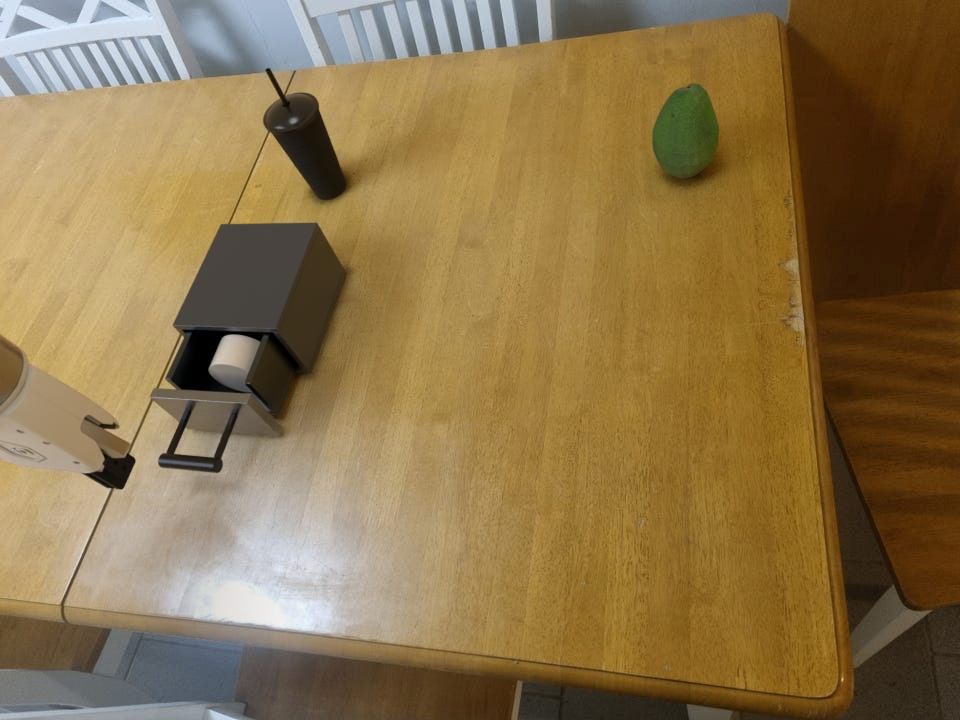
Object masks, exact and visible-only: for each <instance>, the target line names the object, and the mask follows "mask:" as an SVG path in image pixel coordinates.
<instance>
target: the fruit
mask: <svg viewBox="0 0 960 720" xmlns="http://www.w3.org/2000/svg"><path fill="white" fill-rule="evenodd" d="M651 133H652V136H651V137H652V138H651V139H652V142H651V143H652V150H653V153H654V156H655V158H656V161H657V162H658V164H659V165H660V167H661V168H662V169H663V170H664V171H665V172H666V173H667V174H669V175H670V176H673V177H675V178H678V179H688V178H692V177H693V178H694V177H695V176H696V175H699V174H700V173H701V172H702V171H703V170H705V168H706V167H708V166H709V164H711V162H712V161H713V160H714V157H715V155H716V152H717V150H718V146H719V144H720V143H719V142H720V125H719V121H718V118H717V114H716V112H715V108H714V106H713V104H712V100H711V97H710V95H709V93H708V91H707V90H706V89H705V88H704V86H702V85H701V84H700V83H693V82H690V83H689V84H686V85H683V86H681V87H679V88H677V89H675V90H673V92H672V93H671V94H669V96H668V98H667V99H666V100H665V102H664V103H663V105H662V107H661V108H660V111H659V113H658V115H657V117H656V120H655V122H654V124H653V127H652V131H651Z"/></svg>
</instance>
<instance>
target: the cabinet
mask: <svg viewBox="0 0 960 720" xmlns="http://www.w3.org/2000/svg"><path fill="white" fill-rule="evenodd" d="M346 274H347V271H346V269H345V268H344V266H343V265H342V262H341V260H340V259H339V257H338V255H336V252H335V251H334V249H333V248H332V246H331V244H330V243H329V241H328V238H327V237H326V235H325V233H324V232H323V231H322V229H321V227H320V225H319V223H318V222H266V223H265V222H263V223H261V222H260V223H220V225H219V227H218V229H217V230H216V233H215V235H214V238H213V240H212V241H211V244H210V245H209V248H208V250H207V252H206V254H205V256H204V258H203V260H202V262H201V265H200V267H199V269H198V271H197V273H196V275H195V277H194V279H193V281H192V283H191V285H190V288H189V290H188V292H187V294H186V296H185V298H184V300H183V302H182V304H181V306H180V309H179V311H178V313H177V315H176V317H175V319H174V321H173V323H172V327H173V328H174V329H175V330H176V331H177V332H178V333H179V334H180V335H181V336H182V337H183V338H184V337H185V334H186V332H187V330H217V331H247V332H273V333H274V335H275V336H276V337H277V338H278V340H279V341H280V342H281V343H282V345H283V346H284V347H285V348H286V350H287V351H288V352H289V353H290V355H291V356H292V357H293V358H294V360H295V361H296V362H297V363H298V367H297V370H296V372H295V374H309V375H311V374H312V372H313V369H314V366H315V363H316V362H317V358H318V354H319V352H320V350H321V346H322V343H323V341H324V338H325V335H326V331H327V329H328V326H329V323H330V320H331V318H332V315H333V312H334V309H335V306H336V303H337V300H338V298H339V295H340V292H341V288H342V286H343V283H344V280H345V277H346Z"/></svg>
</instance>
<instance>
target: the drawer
mask: <svg viewBox="0 0 960 720" xmlns="http://www.w3.org/2000/svg"><path fill="white" fill-rule="evenodd" d="M233 334H234V335H243V336H247V337H250V338H253V339H255V340H258V341H260V345H259V347H258V350H257V352H256V355H255V357H254V360H253V362H252V365H251V367H250V370H249V372H248V375H247V377H246V380H245V382H244V384H245V385H246V386H247V387H248V388H249V389H250V390H251V391H252V392H243V391H239V390H235V389H232V388H230V387H227V386H225V385H223V384H221V383H220V382H218V381H217V380H215V379H214V378H213V377H212V376H211V375H210V373H209V367H210V364H211V362H212V360H213V357H214V355H215V353H216V350H217V348H218V346H219V344H220V341H221V339H222V338H223V337H224V336H226V335H233ZM297 367H298V363H297V362H296V361H295V360H294V358H293V357H292V356H291V355H290V353H289V352H288V351H287V350H286V348H285V347H284V346H283V345H282V343H281V342H280V341H279V340H278V338H277V337H276V336H275V335H274V333H273V332H247V331H217V330H187V332H186V334H185V337H183V339H182V340H181V342H180V345H179V348H178V350H177V352H176V354H175V356H174V358H173V359H172V363H171V365H170V367H169V369H168V371H167V373H166V375H165V378H164V380H166V382H168V383H169V384H170V385H171V386H172V387H173V388H160V387H159V388H158V387H153V388H152V390H151V392H150V395H149V398H150V400H152V401H153V402H154V403H156V404H157V405H158V406H159V407H160V408H162V409H163V410H164V411H165V412H166V413H167V414H168V415H170V416H171V417H172V418H173V419H175V421H177V422H178V424H177V427H176V429H175V431H174V434H173V436H172V438H171V440H170V443H169V445H168V447H167V449H166V452H163V453H161V454H160V455H159V456H158V459H157V464H158V466H159V468H161V469H170V470H181V471H191V472H201V473H210V474H211V473H212V474H219V473H220V472H222V470H223V467H224V462H223V459H222V458H223V455H224V453H225V451H226V448H227V445H228V443H229V440H230V437H231V435H232V434H242V435H255V436H265V437H267V436H268V437H281V434H282V431H283V429H284V427H283V426H282V425H281V424H280V423H279V422H278V421H277V420H276V419H275V418H274V417H273V416H281V414H282V411H283V408H284V405H285V403H286V400H287V397H288V395H289V392H290V389H291V386H292V383H293V381H294V378H295V375H296V373H295V372H296V370H297ZM186 429H187V430H191V431H201V432H202V431H204V432H214V433H215V432H217V433H222V435H221V437H220V439H219V442H218V445H217V447H216V449H215V452H214V455H213V456H203V455H191V454H180V453H176V451H177V448H178V446H179V443H180V441H181V439H182V437H183V434H184V432H185V430H186Z"/></svg>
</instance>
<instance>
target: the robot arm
mask: <svg viewBox="0 0 960 720" xmlns="http://www.w3.org/2000/svg"><path fill="white" fill-rule="evenodd" d="M120 427H121V426H120V423H119V421H118V420H117V419H116V417H114V416H113V415H112V414H111V413H110V412H109V411H107V410H106V409H105V408H104V407H102V406H101V405H100V404H98V403H97V402H95V401H94V400H92V399H91V398H89V397H87V396H86V395H85V394H83V393H82V392H80V391H78V390H77V389H75V388H74V387H72V386H70V385H68V384H67V383H65V382H63V380H60V379H59V378H57V377H55V376H53V375H52V374H50V373H48V372H46V371H45V370H43V369H41V368H39V367H37V366H35V365H33V364H31V363H30V362H29V358H28V355H27V353H26V351H25V350H24V349H23V348H21V347H20V346H19V345H17V344H16V343H14V342H13V341H12V340H10V339H9V338H7V337H6V336H5V335H3V334H2V333H0V459H1V460H3V461H5V462H6V463H9V464H11V465H13V466H18V467H23V468H30V469H36V470H37V469H38V470H46V471H53V472H54V471H56V472H66V473H76V474H82V475H84V476H86V477H87V478H88V479H91V480H92V481H94V482H95V483H97V484H98V485H100V486H102V487H104V488H105V489H115V490H124V489H125V487H126V485H127V483H128V480H129V478H130V476H131V473H132V471H133V469H134V467H135V465H136V462H137V460H136V458H135V457H134V456H133V455H131V454H130V453H128V452H129V449H130V447H131V445H132V444H131V442H128V441H127V440H125V439H123V438H121V437H119V436H118V435H116V434H115V433H112V432H110V431H109V430H115V431H116V430H118V429H120Z"/></svg>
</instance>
